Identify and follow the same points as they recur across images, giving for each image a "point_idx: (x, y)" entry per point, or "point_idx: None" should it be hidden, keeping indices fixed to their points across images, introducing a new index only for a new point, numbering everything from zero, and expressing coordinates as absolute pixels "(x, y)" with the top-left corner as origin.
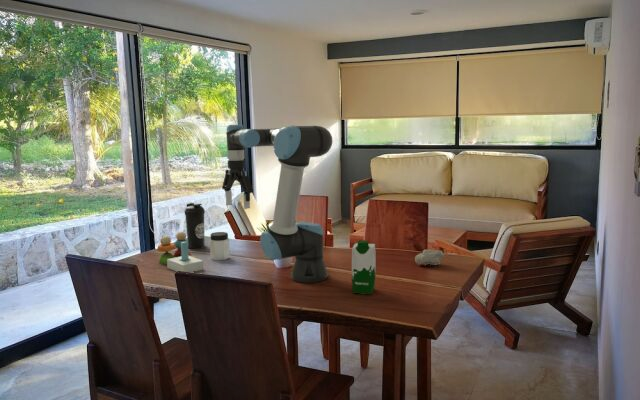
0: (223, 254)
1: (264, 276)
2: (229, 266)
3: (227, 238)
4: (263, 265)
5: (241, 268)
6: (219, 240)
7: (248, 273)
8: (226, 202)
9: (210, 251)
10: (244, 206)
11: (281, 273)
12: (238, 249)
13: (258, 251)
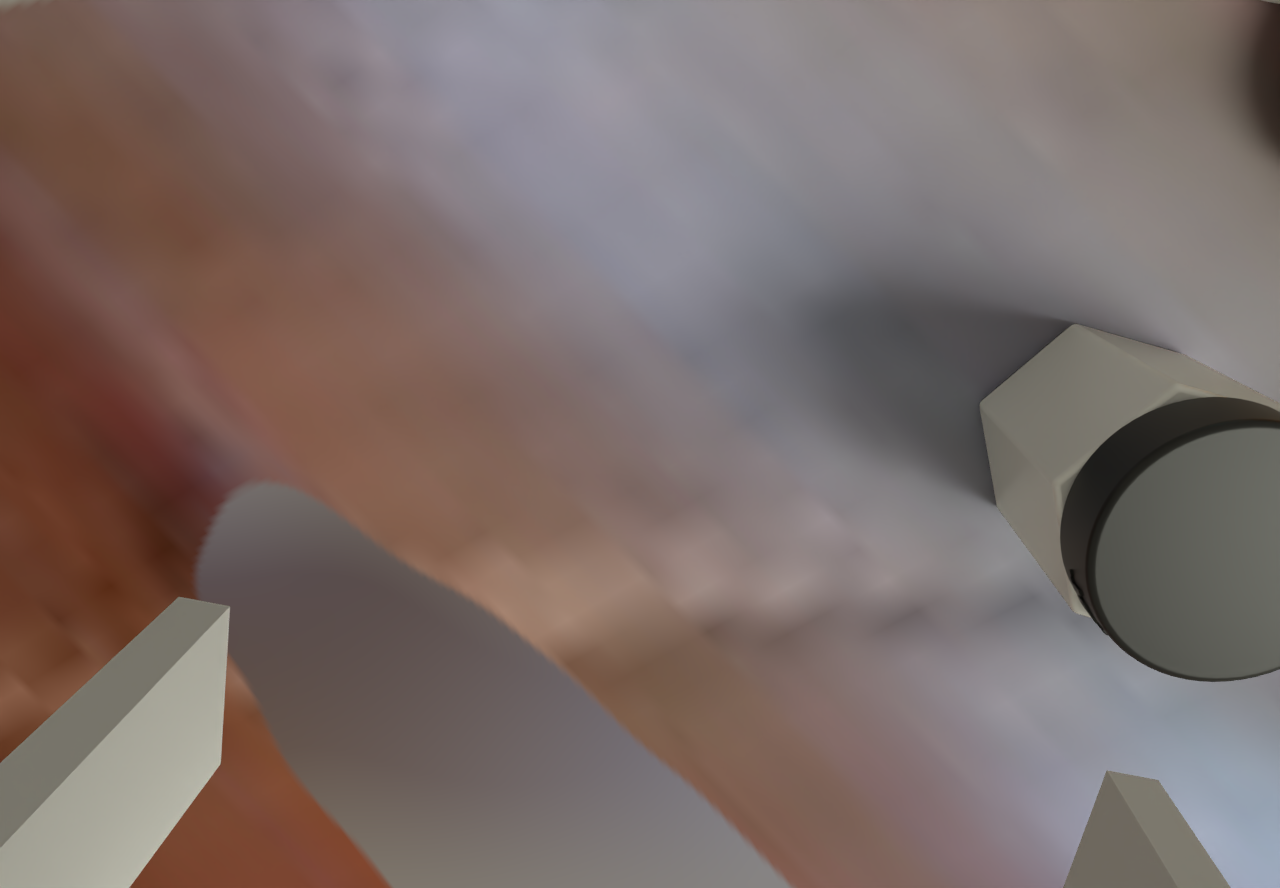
0: (1006, 412)
1: (107, 146)
2: (726, 224)
3: (1070, 580)
4: (430, 463)
5: (546, 240)
6: (1109, 438)
7: (331, 132)
8: (1176, 839)
9: (1222, 375)
10: (164, 636)
11: (58, 335)
12: None
13: (876, 848)
